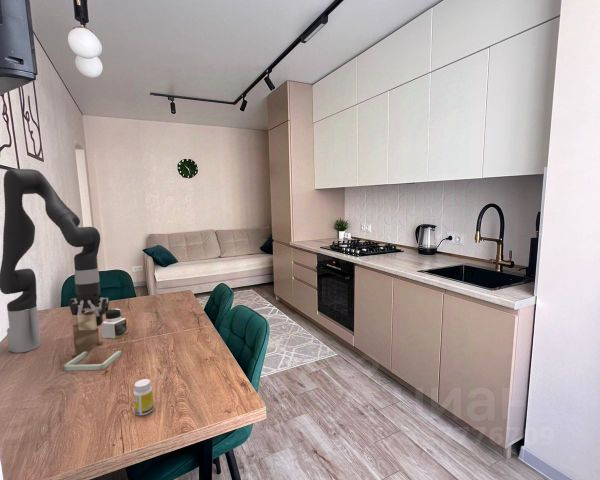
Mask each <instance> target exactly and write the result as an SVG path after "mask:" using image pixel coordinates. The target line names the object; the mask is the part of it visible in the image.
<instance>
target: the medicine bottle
mask: <svg viewBox="0 0 600 480" xmlns="http://www.w3.org/2000/svg"><path fill="white" fill-rule="evenodd" d="M104 315H105V320H103V325H101V326H100V327H101V338H102V339H112V340H113V339H115V340H116V339H118V338H120V337H121V336H123V335H125V334H127V333H128V329H127V328H128V327H127V319H126V318H125V317H122V311H121V309H120V308H110V309H108V312H107V313H105V314H104Z"/></svg>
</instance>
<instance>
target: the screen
mask: <svg viewBox="0 0 600 480" xmlns="http://www.w3.org/2000/svg"><path fill="white" fill-rule="evenodd" d="M72 333H73V334H72V335H73V344H74V347H73V348H74V353H72V354H71V355H70V356H71V358H73V359H74V358H75V357H77V356H78V355H80V354H81V353H83V352H87V353H88V352H90V351H91V350H92V349H94V348H95V347H97V346H102V345H104V341H100V334H99V327H98V328H97V329H95V330H79V325H78V322H75V323H74V324H72ZM85 357H87V356H86V354H85V356H84V358H85Z"/></svg>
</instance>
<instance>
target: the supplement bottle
mask: <svg viewBox="0 0 600 480" xmlns="http://www.w3.org/2000/svg"><path fill="white" fill-rule="evenodd" d="M153 394H154V393H153V387H152V386H151V380H150V379H147V378H145V379H143V378H142V379H139V380H137V381H136V382H135V383H134V391H133V401H134V404H133V405H134V414H135V415H137V416H145V415H148V414H150V413H151V412H152V411H153V410H154V395H153Z"/></svg>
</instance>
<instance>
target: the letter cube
mask: <svg viewBox="0 0 600 480" xmlns="http://www.w3.org/2000/svg"><path fill="white" fill-rule="evenodd" d="M77 321H78V322H77V323H78V325H79V330H95V329H97V328H98V329H99V328H100V327H101V325H103V323H102V324H101V325H100V326H97V323H96V314H95V312H94V311H93V310H85V312H84V313H82V314H80V315H78V316H77Z"/></svg>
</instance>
